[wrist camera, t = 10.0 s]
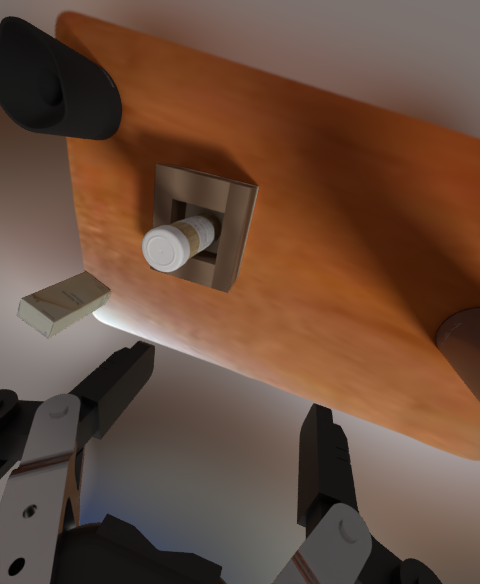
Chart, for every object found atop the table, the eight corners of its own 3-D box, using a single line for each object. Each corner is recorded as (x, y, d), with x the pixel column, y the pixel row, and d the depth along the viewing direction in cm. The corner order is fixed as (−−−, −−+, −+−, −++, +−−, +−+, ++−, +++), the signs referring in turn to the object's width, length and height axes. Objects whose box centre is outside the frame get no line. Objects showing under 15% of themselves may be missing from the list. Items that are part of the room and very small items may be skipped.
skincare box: (112, 290, 47) (55, 323, 37) (104, 305, 50) (49, 340, 39) (85, 269, 47) (19, 297, 36) (78, 285, 49) (14, 316, 38)
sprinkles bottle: (192, 239, 38) (140, 268, 26) (194, 208, 36) (138, 224, 24) (221, 245, 37) (181, 277, 25) (224, 214, 35) (182, 233, 23)
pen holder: (131, 142, 35) (74, 131, 27) (77, 144, 37) (6, 133, 28) (118, 57, 31) (46, 9, 23) (58, 63, 33) (-31, 22, 25)
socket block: (259, 186, 34) (250, 187, 28) (237, 277, 40) (227, 292, 35) (178, 165, 35) (155, 163, 30) (170, 257, 41) (150, 268, 36)
